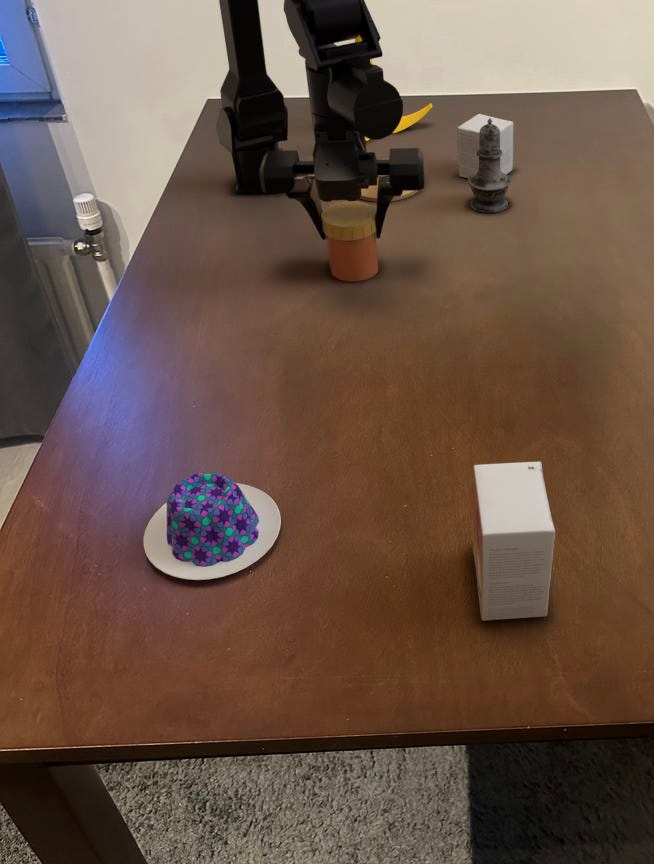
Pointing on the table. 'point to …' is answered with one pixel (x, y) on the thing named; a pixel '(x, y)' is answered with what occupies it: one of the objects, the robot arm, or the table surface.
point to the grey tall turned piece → (489, 173)
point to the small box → (512, 540)
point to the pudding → (211, 528)
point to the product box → (470, 144)
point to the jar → (353, 258)
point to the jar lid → (349, 220)
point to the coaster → (372, 194)
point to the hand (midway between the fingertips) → (351, 237)
